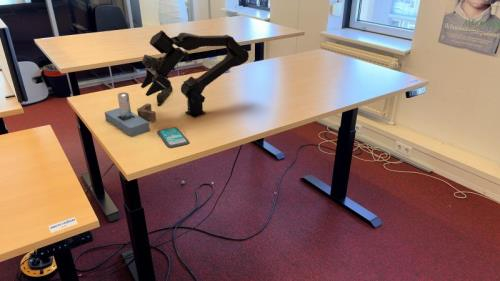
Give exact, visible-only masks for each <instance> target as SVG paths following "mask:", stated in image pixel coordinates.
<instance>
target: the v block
mask: <svg viewBox="0 0 500 281" xmlns="http://www.w3.org/2000/svg"><path fill="white" fill-rule="evenodd" d="M136 111H137V115H138V116H139V117H141V118H143V119H144V120H146V121H148V122H149V123H155V122H157V114H156V111H154V110H153V109H152V104H151V103H145V104H144V105H142V106H140V107H138V108H137V109H136Z"/></svg>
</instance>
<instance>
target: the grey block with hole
mask: <svg viewBox="0 0 500 281" xmlns="http://www.w3.org/2000/svg"><path fill="white" fill-rule="evenodd" d="M131 116H132V118H131V119H128V120H125V121H123V120H121V115H120V108H119V107H117V108H115V109H110V110H108V111H107V110H106V111H104V117H105V121H107V122H108V123H110V124H111V125H113V126H114V127H116V128H117V129H119V130H120V131H122V132H123V133H125V134H127V135H128V136H130V137H135V136H137V135H140V134H144V133H146V132H149V131H150V130H151V128H150V122H148V121H146V120H144V119H143V118H141V117H139V116H138V114H136V113H134V112H133V111H131Z"/></svg>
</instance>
